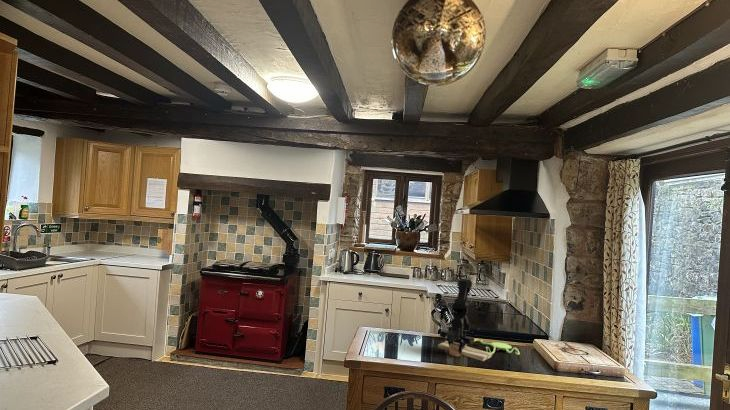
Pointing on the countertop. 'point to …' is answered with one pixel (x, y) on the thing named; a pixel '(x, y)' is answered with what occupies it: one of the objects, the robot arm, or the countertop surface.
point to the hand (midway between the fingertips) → (455, 352)
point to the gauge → (455, 349)
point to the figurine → (498, 346)
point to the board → (468, 352)
